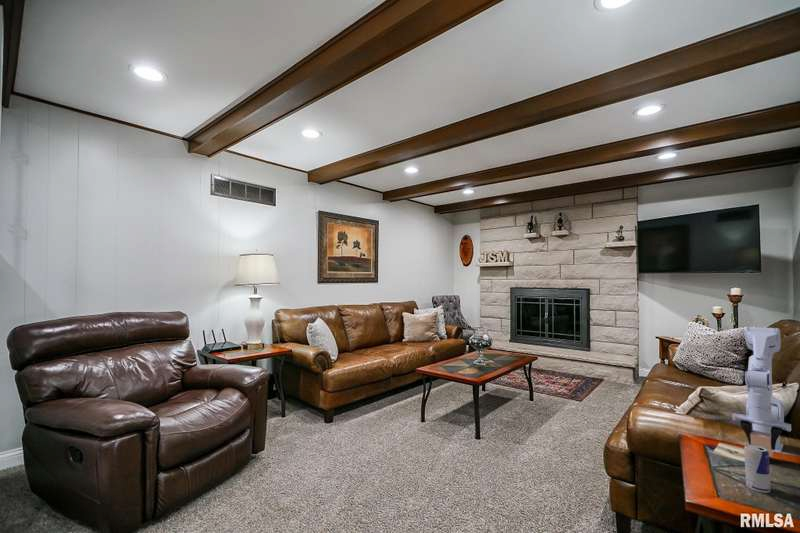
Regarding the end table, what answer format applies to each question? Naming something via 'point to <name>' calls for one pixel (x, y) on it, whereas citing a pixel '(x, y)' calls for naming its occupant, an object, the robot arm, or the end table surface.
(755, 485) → the energy drink
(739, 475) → the end table surface
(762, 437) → the salmon cube
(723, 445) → the birch board
